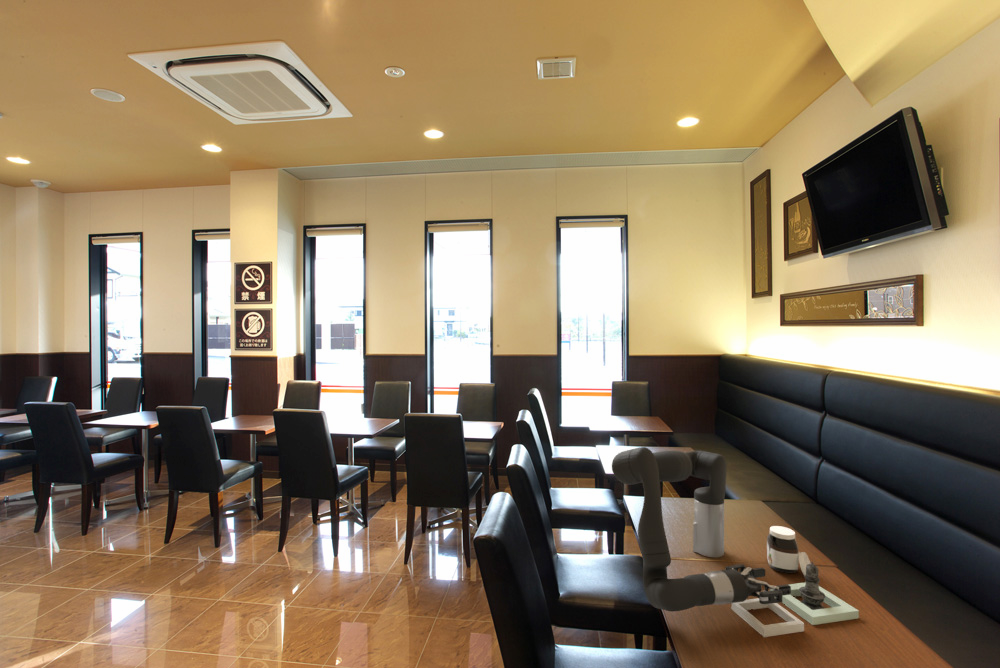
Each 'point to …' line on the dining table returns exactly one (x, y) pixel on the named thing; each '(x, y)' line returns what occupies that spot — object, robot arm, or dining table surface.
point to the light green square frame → (820, 616)
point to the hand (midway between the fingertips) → (776, 580)
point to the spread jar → (785, 551)
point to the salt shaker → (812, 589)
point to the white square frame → (773, 629)
